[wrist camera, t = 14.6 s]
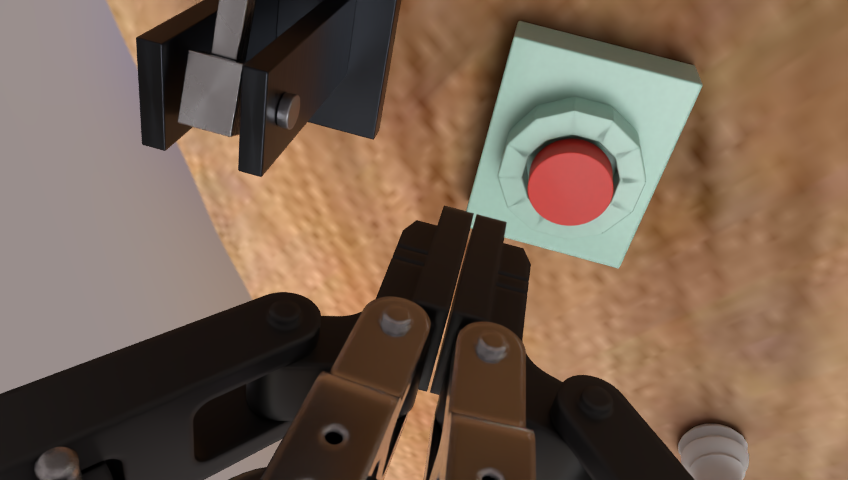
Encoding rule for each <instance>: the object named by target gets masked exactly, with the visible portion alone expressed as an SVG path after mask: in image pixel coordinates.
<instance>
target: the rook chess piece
mask: <svg viewBox="0 0 848 480" xmlns="http://www.w3.org/2000/svg"><path fill="white" fill-rule="evenodd" d="M678 447H679V453H680V455H681V463H682V465H683V466H684V468H685V469H686V470H687V471H688V472H689V473H690V475H691V476H692V477H693V478H694V479H695V480H742V479H743V478H744V477H745V471H746V470H747V469H748V465H749V454H748V452H747V448H748V444H747V442H746V441H745V439H744V437H743V436H742V435H740V434H739V433H737V432H736V431H734V430H733V429H731V428H730V427H728V426H724V425H720V424H703V425H699V426H695V427H693V428H692V429H690V430H689V431H687V432H686V433H685V434H684V435H683V437H682V438H681V440H680V442H679V443H678Z"/></svg>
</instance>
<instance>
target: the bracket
mask: <svg viewBox="0 0 848 480" xmlns="http://www.w3.org/2000/svg"><path fill="white" fill-rule="evenodd" d="M400 4H401V0H256V4H255V10H254V16H253V21H252V27H251V33H250V38H249V44H248V50H247V56H246V60H248V62H246V63H245V64H244V65H243V66H242V84H241V111H240V138H239V165H238V170H239V171H241V172H245V173H249V174H252V175H256V176H259V177H262V176H263V175H264V173H265V172H266V171H267V170H268V169H269V167H270V166H271V165H272V164H273V163H274V161H275V160H276V159H277V158H278V157H279V155H280V154H281V153H282V152H283V151H284V149H285V148H286V147H287V146H288V145H289V143H290V142H291V141H292V140H293V139H294V137H295V136H296V135H297V134H298V133H299V131H300V130H301V129H302V128H303V127H304V125H305V124H306V123H307V122H310V123H314V124H317V125H321V126H325V127H329V128H332V129H336V130H340V131H344V132H347V133H351V134H355V135H358V136H362V137H366V138H370V139H374V138H375V136H376V135H377V133H378V132H379V128H380V122H381V116H382V110H383V104H384V98H385V92H386V86H387V80H388V75H389V69H390V63H391V57H392V51H393V45H394V39H395V33H396V27H397V21H398V15H399V9H400ZM218 5H219V0H203V1H201V2H200V3H198V4H196V5H194V6H192V7H191V8H189V9H187V10H185V11H183V12H182V13H180V14H178V15H176V16H174V17H173V18H171V19H169V20H167V21H165V22H163V23H162V24H160V25H158V26H156V27H154V28H153V29H151V30H149V31H147V32H145V33H144V34H142V35H140V36H138V37H137V38H136V45H137V62H138V80H139V98H140V116H141V133H142V144H143V145H146V146H149V147H153V148H157V149H160V150H164V151H165V150H167V149H168V148H169V147H170V146H171V145H172V144H174V143H175V142H176V141H177V140H178V139H180V138H181V137H182V136H183V135H184V134H185V133H186V132H188V131H189V130H190V129H191V128H192V126H188V125H184V124H181V123H178V115H179V108H180V102H181V95H182V89H183V82H184V76H185V69H186V63H187V56H188V51H189V50H196V51H210V52H211V48H212V42H213V36H214V30H215V23H216V17H217V11H218Z"/></svg>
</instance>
